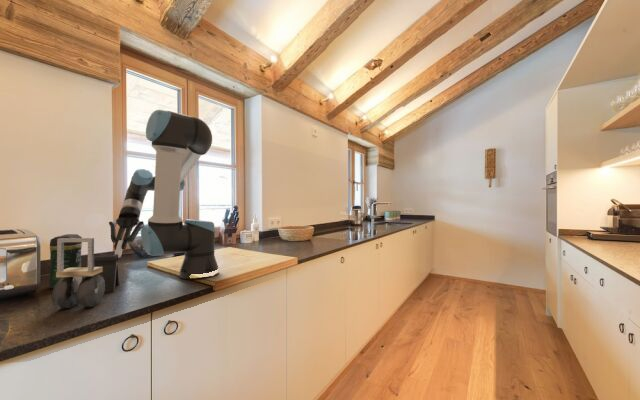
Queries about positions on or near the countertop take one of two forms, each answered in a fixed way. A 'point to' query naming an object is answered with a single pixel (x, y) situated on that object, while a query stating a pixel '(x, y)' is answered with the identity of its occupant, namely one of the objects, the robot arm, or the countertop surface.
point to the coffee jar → (70, 256)
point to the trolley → (77, 281)
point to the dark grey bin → (109, 271)
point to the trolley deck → (79, 272)
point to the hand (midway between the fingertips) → (117, 255)
